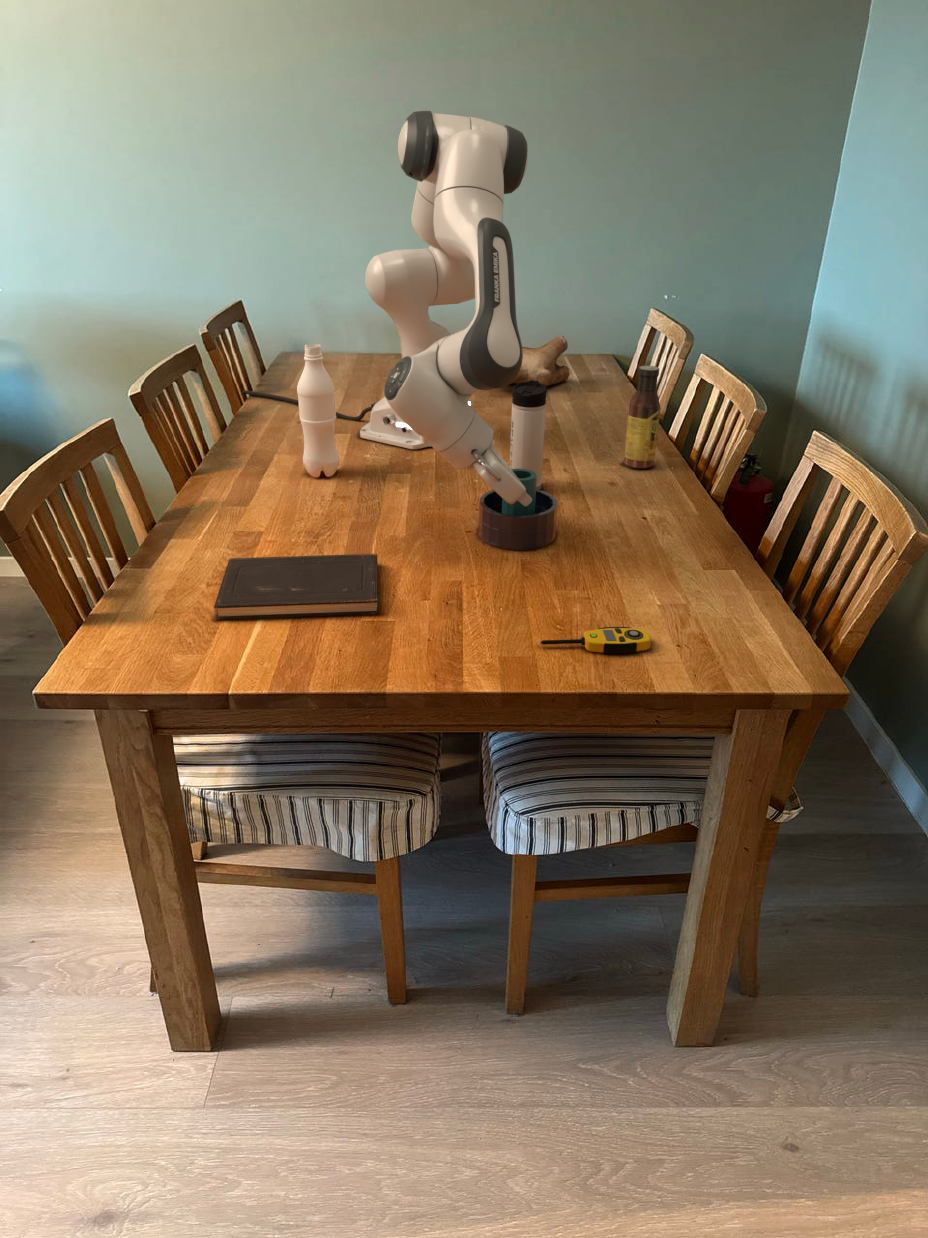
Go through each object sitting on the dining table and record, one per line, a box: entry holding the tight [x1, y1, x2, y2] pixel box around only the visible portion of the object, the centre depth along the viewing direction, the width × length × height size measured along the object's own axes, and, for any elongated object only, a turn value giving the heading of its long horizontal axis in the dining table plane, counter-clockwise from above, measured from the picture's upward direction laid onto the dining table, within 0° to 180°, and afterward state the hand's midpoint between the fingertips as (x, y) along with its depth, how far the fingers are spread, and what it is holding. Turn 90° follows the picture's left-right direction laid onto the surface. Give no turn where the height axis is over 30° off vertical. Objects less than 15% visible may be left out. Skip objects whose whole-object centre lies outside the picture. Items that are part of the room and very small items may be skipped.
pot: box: [478, 489, 559, 551], centre depth 150 cm, size 13×13×6 cm
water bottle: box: [296, 343, 340, 479], centre depth 169 cm, size 7×7×25 cm
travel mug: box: [509, 380, 548, 490], centre depth 165 cm, size 6×7×20 cm
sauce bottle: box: [623, 365, 661, 470], centre depth 176 cm, size 7×6×20 cm
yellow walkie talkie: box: [540, 626, 652, 655], centre depth 119 cm, size 5×2×15 cm
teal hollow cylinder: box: [502, 469, 537, 515], centre depth 148 cm, size 6×6×8 cm
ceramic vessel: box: [497, 335, 570, 390], centre depth 232 cm, size 13×31×25 cm
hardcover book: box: [213, 553, 379, 621], centre depth 132 cm, size 16×23×2 cm
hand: (522, 494), depth 148 cm, fingers closed on teal hollow cylinder, 5 cm apart
